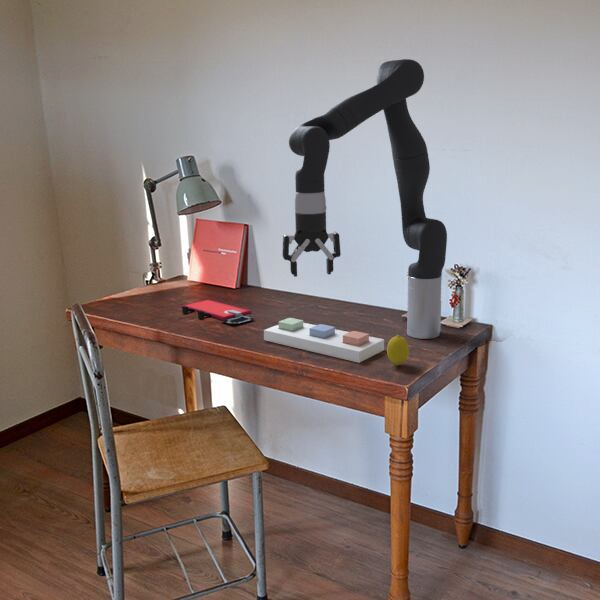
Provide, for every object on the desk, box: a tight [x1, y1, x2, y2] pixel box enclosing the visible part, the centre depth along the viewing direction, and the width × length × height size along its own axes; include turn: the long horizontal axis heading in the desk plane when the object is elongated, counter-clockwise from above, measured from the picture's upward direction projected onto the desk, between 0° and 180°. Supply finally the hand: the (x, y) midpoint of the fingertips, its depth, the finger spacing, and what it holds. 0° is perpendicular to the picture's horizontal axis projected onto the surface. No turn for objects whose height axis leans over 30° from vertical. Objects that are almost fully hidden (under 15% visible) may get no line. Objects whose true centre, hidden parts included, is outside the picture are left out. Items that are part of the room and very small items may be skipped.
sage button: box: [277, 317, 304, 332], centre depth 201 cm, size 5×5×2 cm
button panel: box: [263, 322, 385, 364], centre depth 195 cm, size 12×32×3 cm, turn 52°
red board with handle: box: [180, 299, 255, 325], centre depth 227 cm, size 30×3×15 cm
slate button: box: [309, 323, 336, 339], centre depth 194 cm, size 5×5×2 cm
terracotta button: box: [343, 330, 370, 347], centre depth 188 cm, size 5×5×2 cm
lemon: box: [386, 334, 410, 367], centre depth 178 cm, size 6×6×8 cm
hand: (311, 274), depth 178 cm, fingers open, 8 cm apart
